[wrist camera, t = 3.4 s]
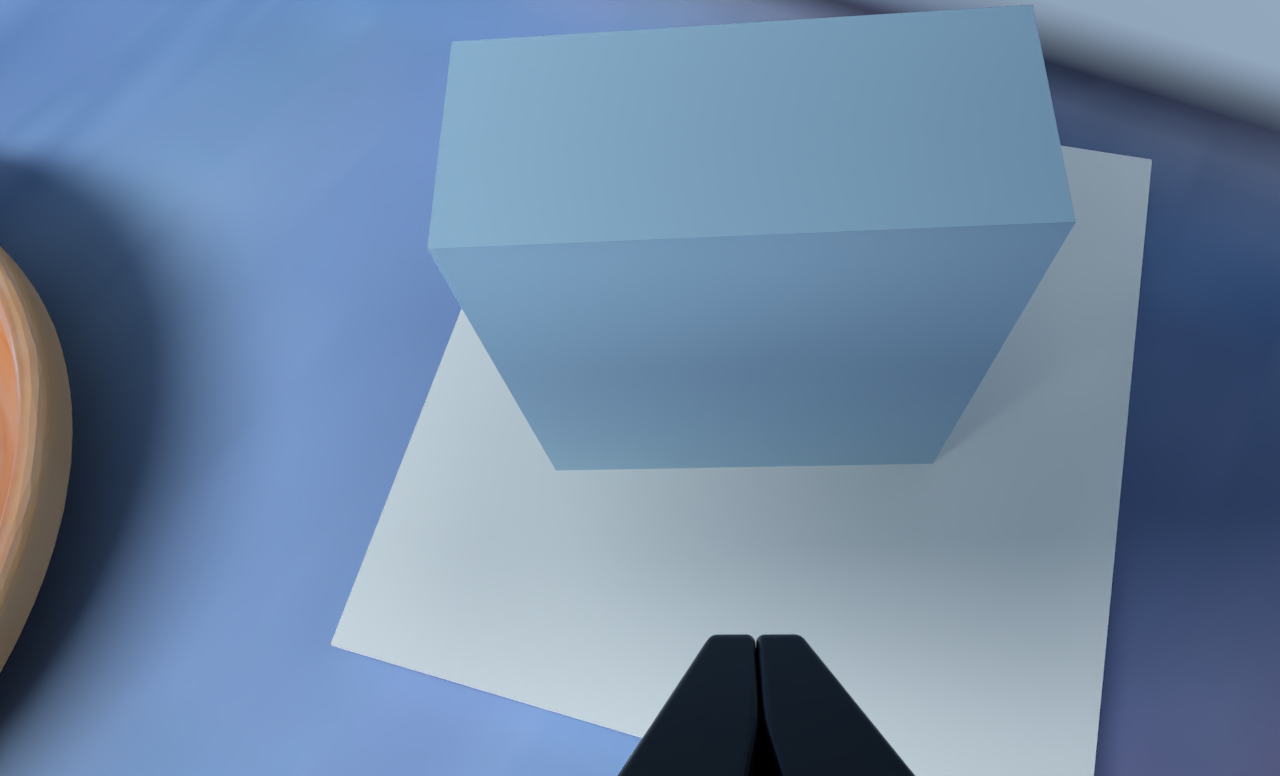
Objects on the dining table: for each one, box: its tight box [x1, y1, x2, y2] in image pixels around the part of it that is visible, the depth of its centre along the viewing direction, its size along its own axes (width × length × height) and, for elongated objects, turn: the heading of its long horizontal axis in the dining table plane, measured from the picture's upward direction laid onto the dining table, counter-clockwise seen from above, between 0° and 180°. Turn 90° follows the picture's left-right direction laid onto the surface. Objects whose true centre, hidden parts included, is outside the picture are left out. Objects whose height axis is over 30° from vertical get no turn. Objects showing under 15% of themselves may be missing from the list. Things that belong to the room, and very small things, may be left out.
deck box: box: [427, 5, 1076, 471], centre depth 14 cm, size 3×7×8 cm, turn 89°
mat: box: [330, 146, 1152, 776], centre depth 18 cm, size 14×13×1 cm
